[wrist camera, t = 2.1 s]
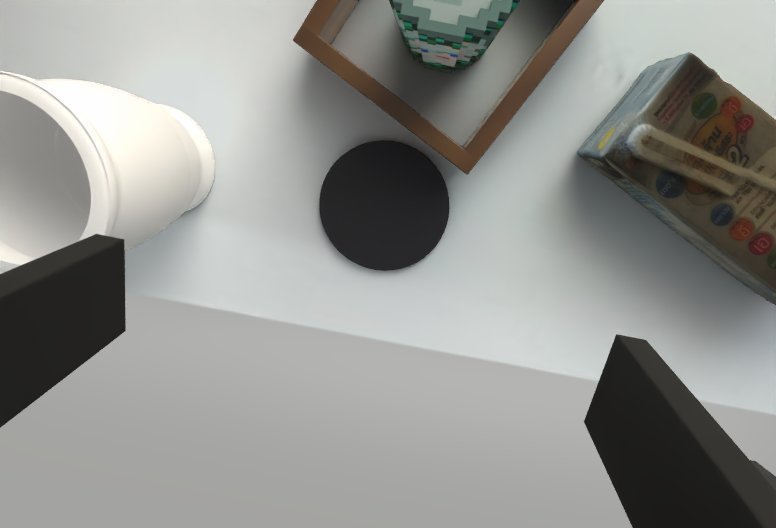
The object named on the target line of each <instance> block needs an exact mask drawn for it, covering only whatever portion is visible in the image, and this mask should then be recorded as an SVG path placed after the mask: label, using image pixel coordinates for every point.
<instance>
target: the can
mask: <svg viewBox="0 0 776 528" xmlns="http://www.w3.org/2000/svg"><path fill="white" fill-rule="evenodd" d="M389 1H390V4H391V6H392V9H393V12H394V15H395V18H396V20H397V23H398V26H399V29H400V31H401V34H402V37H403V40H404V42H405V45H406V46H408V48H409V51H410V53H412V54H413V57H414V60H419V61H423V64H424V68H428V69H432V70H437V71H442V72H447V73H452V72H453V69H454V68H458V69H463V70H465V68H466V66H467V64H470V65H472V63H473V62H474V60H475V59H476V60H479V58H480V57H481V55H482V54H483V52H484V51H485V49H487V48H488V47H489V45H490V44H491V42H492V41H493V39H494V38H495V36H496V35H497V33H498V32H499V31H500V29H501V28H502V26H503V25H504V23H505V22H506V20H507V19H508V17H509V16H510V14H511V13H512V12H513V10H514V9H515V7H516V6H517V4H518V3H519V1H520V0H389Z"/></svg>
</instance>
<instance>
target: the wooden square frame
mask: <svg viewBox="0 0 776 528" xmlns="http://www.w3.org/2000/svg"><path fill="white" fill-rule="evenodd" d="M358 1H359V0H317V1H316V3H315V4H314V6H313V8H312V9H311V11H310V13H309V14H308V16H307V18H306V19H305V21H304V22H303V24H302V26H301V27H300V29H299V31H298V32H297V34H296V36H295V37H294V39H293V41H294V42H295V43H297V44H298V45H299V46H301V47H302V48H303V49H304V50H306V51H307V52H308V53H310V54H311V55H312V56H314V57H315V58H316V59H317V60H319V61H320V62H321V63H323V64H324V65H325V66H327V67H328V68H329V69H330V70H332V71H333V72H334V73H336V74H337V75H338V76H340V77H341V78H342V79H343V80H345V81H346V82H347V83H349V84H350V85H351V86H353V87H354V88H355V89H356V90H358V91H359V92H360V93H362V94H363V95H364V96H366V97H367V98H368V99H369V100H371V101H372V102H373V103H375V104H376V105H377V106H379V107H380V108H381V109H382V110H384V111H385V112H386V113H388V114H389V115H390V116H392V117H393V118H394V119H395V120H397V121H398V122H399V123H401V124H402V125H403V126H405V127H406V128H407V129H408V130H410V131H411V132H412V133H414V134H415V135H416V136H418V137H419V138H420V139H421V140H423V141H424V142H425V143H427V144H428V145H429V146H431V147H432V148H433V149H434V150H436V151H437V152H438V153H440V154H441V155H442V156H444V157H445V158H446V159H447V160H449V161H450V162H451V163H453V164H454V165H455V166H456V167H458V168H459V169H460V170H462V171H463V172H464V173H466V174H469V172H470V171H471V170H472V169H473V167H474V166H475V165H476V163H477V162H478V161H479V160H480V158H481V157H482V156H483V154H484V153H485V152H486V151H487V149H488V148H489V147H490V146H491V144H492V143H493V142H494V140H495V139H496V138H497V137H498V135H499V134H500V133H501V131H502V130H503V129H504V128H505V126H506V125H507V124H508V123H509V121H510V120H511V119H512V117H513V116H514V115H515V114H516V112H517V111H518V110H519V108H520V107H521V106H522V105H523V103H524V102H525V101H526V100H527V98H528V97H529V96H530V94H531V93H532V92H533V91H534V89H535V88H536V87H537V85H538V84H539V83H540V82H541V80H542V79H543V78H544V77H545V75H546V74H547V73H548V71H549V70H550V69H551V68H552V66H553V65H554V64H555V62H556V61H557V60H558V59H559V57H560V56H561V55H562V53H563V52H564V51H565V50H566V48H567V47H568V46H569V45H570V43H571V42H572V41H573V39H574V38H575V37H576V36H577V34H578V33H579V32H580V30H581V29H582V28H583V27H584V25H585V24H586V23H587V22H588V20H589V19H590V18H591V16H592V15H593V14H594V13H595V11H596V10H597V9H598V7H599V6H600V5H601V4H602V2H603V1H604V0H572V1H573V3H572V4H571V6H570V7H569V8H568V10H567V11H566V12H565V14H564V15H563V16H562V17H561V19H560V20H559V21H558V23H557V24H556V25H555V27H554V28H553V29H552V31H551V32H550V33H549V34H548V36H547V37H546V38H545V40H544V41H543V42H542V44H541V45H540V46H539V48H538V49H537V50H536V51H535V53H534V54H533V55H532V57H531V58H530V59H529V61H528V62H527V63H526V65H525V66H524V67H523V68H522V70H521V71H520V72H519V74H518V75H517V76H516V78H515V79H514V80H513V82H512V83H511V84H510V85H509V87H508V88H507V89H506V91H505V92H504V93H503V95H502V96H501V97H500V99H499V100H498V101H497V102H496V104H495V105H494V106H493V108H492V109H491V110H490V112H489V113H488V114H487V116H486V117H485V118H484V119H483V121H482V122H481V123H480V125H479V126H478V127H477V129H476V130H475V131H474V133H473V134H472V135H471V136H470V138H469V139H468V140H467V142H466V143H465V144H464V146H463V147H461V146H460V145H459V144H457V143H456V142H455V141H454V140H452V139H451V138H450V137H448V136H447V135H446V134H445V133H443V132H442V131H441V130H439V129H438V128H437V127H436V126H434V125H433V124H432V123H430V122H429V121H428V120H426V119H425V118H424V117H423V116H421V115H420V114H419V113H417V112H416V111H415V110H414V109H412V108H411V107H410V106H408V105H407V104H406V103H405V102H403V101H402V100H401V99H399V98H398V97H397V96H396V95H394V94H393V93H392V92H390V91H389V90H388V89H386V88H385V87H384V86H383V85H381V84H380V83H379V82H377V81H376V80H375V79H374V78H372V77H371V76H370V75H368V74H367V73H366V72H365V71H363V70H362V69H361V68H359V67H358V66H357V65H356V64H354V63H353V62H352V61H350V60H349V59H348V58H347V57H345V56H344V55H343V54H341V53H340V52H339V51H337V50H336V49H335V48H334V47H332V46H331V44H332V42H333V40H334V39H335V37H336V36H337V34H338V33H339V31H340V29H341V28H342V26H343V25H344V23H345V21H346V20H347V18H348V17H349V15H350V14H351V12H352V10H353V9H354V7H355V6H356V4H357V3H358Z"/></svg>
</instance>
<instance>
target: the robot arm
mask: <svg viewBox="0 0 776 528" xmlns="http://www.w3.org/2000/svg"><path fill="white" fill-rule="evenodd" d="M124 331H125V251H124V239H120V238H115V237H110V236H105V235H100V234H95V235H93V236H90V237H88V238H85V239H83V240H81V241H78V242H76V243H73V244H71V245H69V246H66V247H64V248H61V249H59V250H57V251H54V252H52V253H49V254H47V255H45V256H42V257H40V258H37V259H35V260H33V261H30V262H28V263H25V264H23V265H21V266H18V267H16V268H13V269H11V270H9V271H6V272H4V273H1V274H0V427H1V426H3V425H4V424H5V423H7V422H8V421H9V420H11V419H12V418H13V417H15V416H16V415H17V414H18V413H20V412H21V411H22V410H23V409H25V408H26V407H27V406H29V405H30V404H31V403H33V402H34V401H35V400H37V399H38V398H39V397H40V396H42V395H43V394H44V393H45V392H47V391H48V390H49V389H51V388H52V387H53V386H54V385H56V384H57V383H58V382H60V381H61V380H63V379H64V378H65V377H66V376H68V375H69V374H70V373H72V372H73V371H74V370H75V369H77V368H78V367H79V366H80V365H82V364H83V363H84V362H86V361H87V360H88V359H90V358H91V357H92V356H94V355H95V354H96V353H97V352H99V351H100V350H101V349H103V348H104V347H105V346H107V345H108V344H109V343H110V342H112V341H113V340H114V339H115V338H117V337H118V336H119V335H121V334H122V333H123V332H124ZM584 423H585V425H586V427H587V429H588V431H589V434H590V436H591V438H592V440H593V442H594V444H595V447H596V449H597V451H598V453H599V455H600V458H601V459H602V462H603V464H604V466H605V468H606V471H607V473H608V475H609V477H610V479H611V481H612V484H613V486H614V488H615V490H616V492H617V494H618V497H619V499H620V501H621V503H622V505H623V507H624V510H625V512H626V514H627V516H628V518H629V521H630V523H631V525H632V527H633V528H776V477H775V476H774V475H773V474H771V473H770V472H769V471H768V470H766V469H765V468H763V467H762V466H761V465H759V464H758V463H757V462H756V461H751V460H749V459H748V458H747V457H746V456H745V454H744V453H743V452H742V451H741V450H740V449H739V448H738V446H737V445H736V444H735V443H734V442H733V440H732V439H731V438H730V437H729V436H728V435H727V434H726V432H725V431H724V430H723V429H722V428H721V427H720V425H719V424H718V423H717V422H716V421H715V420H714V418H713V417H712V416H711V415H710V414H709V413H708V412H707V410H706V409H705V408H704V407H703V406H702V405H701V403H700V402H699V401H698V400H697V399H696V398H695V396H694V395H693V394H692V393H691V392H690V391H689V389H688V388H687V387H686V386H685V385H684V384H683V383H682V381H681V380H680V379H679V378H678V377H677V376H676V374H675V373H674V372H673V371H672V370H671V369H670V367H669V366H668V365H667V364H666V363H665V362H664V361H663V359H662V358H661V357H660V356H659V355H658V354H657V352H656V351H655V350H654V349H653V348H652V347H651V345H650V344H649V343H648V342H647V341H646V340H643V339H637V338H632V337H627V336H622V335H617V334H616V337H615V340H614V342H613V345H612V348H611V350H610V353H609V356H608V358H607V361H606V364H605V367H604V369H603V372H602V375H601V377H600V380H599V383H598V385H597V388H596V391H595V394H594V396H593V399H592V402H591V404H590V407H589V410H588V412H587V415H586V418H585V421H584Z"/></svg>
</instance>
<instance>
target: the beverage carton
mask: <svg viewBox="0 0 776 528" xmlns="http://www.w3.org/2000/svg"><path fill="white" fill-rule="evenodd" d="M577 154H578V155H579V156H580V157H581V158H583V159H584V160H585V161H587V162H588V163H589V164H590V165H591V166H593V167H594V168H595V169H597V170H598V171H600V172H601V173H602V174H604V175H605V176H607V177H608V178H609V179H611V180H612V181H613V182H614V183H616V184H617V185H618V186H619V187H621V188H622V189H623V190H624V191H626V192H627V193H628V194H629V195H631V196H632V197H633V198H634V199H636V200H637V201H638V202H640V203H641V204H642V205H644V206H645V207H646V208H647V209H649V210H650V211H651V212H652V213H653V214H655V215H656V216H657V217H658V218H660V219H661V220H662V221H664V222H665V223H666V224H667V225H669V226H670V227H671V228H672V229H673V230H675V231H676V232H677V233H678V234H680V235H681V236H682V237H683V238H685V239H686V240H687V241H688V242H690V243H691V244H692V245H694V246H695V247H696V248H697V249H699V250H700V251H701V252H702V253H704V254H705V255H706V256H708V257H709V258H710V259H712V260H713V261H714V262H716V263H717V264H718V265H719V266H721V267H722V268H723V269H725V270H726V271H727V272H728V273H730V274H731V275H732V276H734V277H735V278H736V279H738V280H739V281H740V282H742V283H743V284H745V285H746V286H747V287H749V288H750V289H752V290H753V291H754V292H755V293H757V294H759V295H760V296H762V297H763V298H765V299H766V300H767V301H769V302H771V303H773V304H775V305H776V120H775V119H774V118H772V117H771V116H770V115H769V114H768V113H766V112H765V111H764V110H763V109H761V108H760V107H759V106H757V105H756V104H755V103H754V102H752V101H751V100H750V99H748V98H747V97H746V96H745V95H743V94H742V93H741V92H739V91H738V90H737V89H736V88H734V87H733V86H732V85H730V84H728V83H726V82H724V81H723V80H722V79H721V78H720V77H719V75H718V74H717V73H716V72H715V71H714V70H713V69H711V68H709V67H708V66H707V65H705V64H704V63H703V62H702V61H701V60H700V59H699V58H698V57H696V56H695V55H693V54H692V53H686V54H683V55H680V56H677V57H675V58H669V59H665V60H662V61H659V62H657V63H655V64H654V65H652V66H648V67H647V68H646V69H645V70H644V71H643V72H642V73H641V75H640V76H639V78H638V79H637V80H636V82H635V83H634V84H633V85H632V87H631V88H630V89H629V91H628V92H627V93H626V94H625V96H624V97H623V98H622V99H621V101H620V102H619V103H618V104H617V105H616V106H615V107H614V109H613V110H612V111H611V112H610V113H609V115H608V116H607V117H606V118H605V119H604V120H603V122H602V123H601V124H600V125H599V126H598V128H597V129H596V130H595V131H594V133H593V134H592V135H591V136H590V137H589V138H588V139H587V140H586V141H585V143H584V144H583V145H582V147H581V148H580V149H579V151H578V152H577Z"/></svg>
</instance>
